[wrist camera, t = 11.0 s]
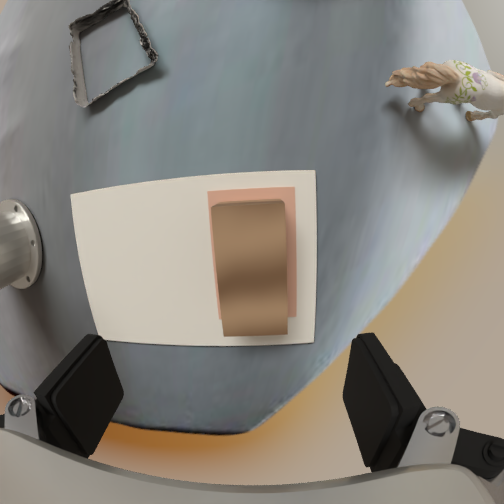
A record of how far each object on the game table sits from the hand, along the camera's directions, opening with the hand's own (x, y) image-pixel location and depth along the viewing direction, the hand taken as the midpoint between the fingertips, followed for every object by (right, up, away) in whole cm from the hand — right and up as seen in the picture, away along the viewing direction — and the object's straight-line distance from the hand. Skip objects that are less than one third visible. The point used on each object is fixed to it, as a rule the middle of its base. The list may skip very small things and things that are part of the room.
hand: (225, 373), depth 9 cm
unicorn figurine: (+23, +24, +12) cm, 36 cm away
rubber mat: (-6, +3, +19) cm, 20 cm away
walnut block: (+1, +4, +17) cm, 18 cm away
